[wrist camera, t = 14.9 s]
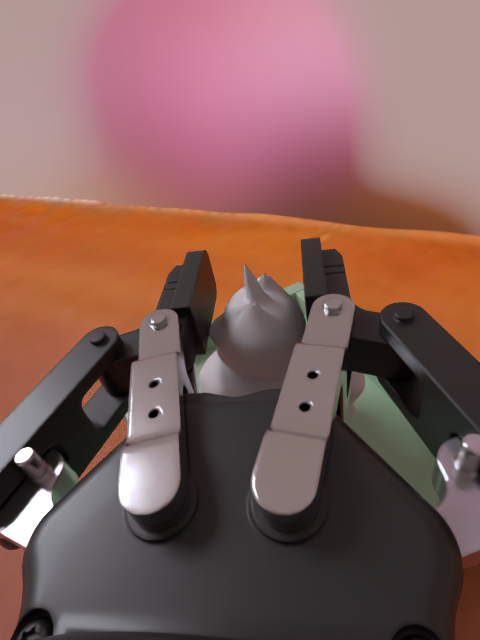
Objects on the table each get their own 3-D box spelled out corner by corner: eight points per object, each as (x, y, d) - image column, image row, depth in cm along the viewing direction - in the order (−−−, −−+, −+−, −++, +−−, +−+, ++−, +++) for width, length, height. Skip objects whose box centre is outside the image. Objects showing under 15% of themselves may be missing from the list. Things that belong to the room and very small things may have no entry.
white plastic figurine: (228, 364, 21) (207, 219, 16) (363, 388, 19) (388, 232, 14) (185, 456, 17) (139, 304, 12) (348, 498, 15) (375, 339, 10)
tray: (120, 385, 23) (109, 367, 22) (301, 301, 26) (299, 281, 25) (228, 714, 12) (216, 708, 11) (523, 510, 15) (536, 489, 14)
